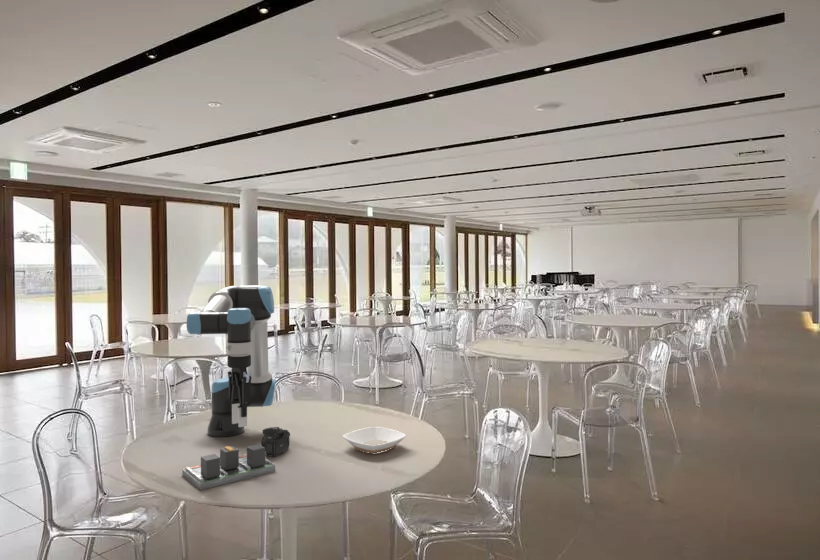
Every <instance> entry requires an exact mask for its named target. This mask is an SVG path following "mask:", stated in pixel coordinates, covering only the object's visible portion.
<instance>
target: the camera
mask: <svg viewBox="0 0 820 560" xmlns="http://www.w3.org/2000/svg"><path fill="white" fill-rule="evenodd" d="M262 434H263V436H262V437H261V438H262V439H261V443H260V445H261V446H263V447H265V456H267V457H268V456H269V457H277V456H279V455H281V454H282V453H284V452H286V451H288V449H289V448H290V436H291V432H290V431H289V430H287V429H283V428H282V427H281V428H280V427H279V426H274V427H267V428H263V429H262Z"/></svg>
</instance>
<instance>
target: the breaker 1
mask: <svg viewBox="0 0 820 560" xmlns="http://www.w3.org/2000/svg"><path fill="white" fill-rule="evenodd" d="M200 465H201V475H202V476H203V477H204V478H206V479H209V478H213V477H217V476H220V456H219V455H217V454H216V453H212V454H207V455H203V456H200Z"/></svg>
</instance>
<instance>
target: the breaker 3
mask: <svg viewBox="0 0 820 560" xmlns="http://www.w3.org/2000/svg"><path fill="white" fill-rule="evenodd" d="M246 455H247V464H248V465H249V466H251V467H253V468H254V467H258V466H263V465H265V458H266V452H265V447H263V446H261V444H259V443H258V444H255V445H249V446H248V445H247V446H246Z"/></svg>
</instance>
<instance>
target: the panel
mask: <svg viewBox="0 0 820 560" xmlns="http://www.w3.org/2000/svg"><path fill="white" fill-rule="evenodd" d="M275 472H276V465H275V464H273V461H271V460H270V459H267V458H266V457H265V465H263V466H258V467H254V468H253V467H251V466H249V465H248V464H247V454H245V455H239V467H237V468H233V469H229V470H225V469H224V468H222V467H221V466H220V476H217V477H213V478H209V479H206V478H204V477H203V476H202V475H201V464H200V465H196V466H191V467H189V466H185V468H183V469H182V476H183V477H184V478H185V479H186V480H188V482H190V483H191V484H192V485H193V486H195V487H196V488H197V489H198V490H199V491H203V490H206V489H207V490H208V489H211V488H215V487H218V486H224V485H226V484H231V483H235V482H239V481H243V480H246V479H251V478H254V477H258V476H263V475H266V474H270V473H275Z"/></svg>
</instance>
